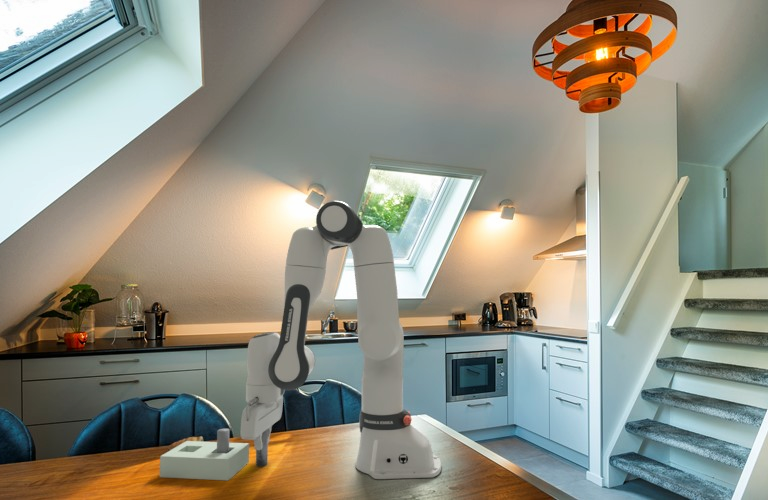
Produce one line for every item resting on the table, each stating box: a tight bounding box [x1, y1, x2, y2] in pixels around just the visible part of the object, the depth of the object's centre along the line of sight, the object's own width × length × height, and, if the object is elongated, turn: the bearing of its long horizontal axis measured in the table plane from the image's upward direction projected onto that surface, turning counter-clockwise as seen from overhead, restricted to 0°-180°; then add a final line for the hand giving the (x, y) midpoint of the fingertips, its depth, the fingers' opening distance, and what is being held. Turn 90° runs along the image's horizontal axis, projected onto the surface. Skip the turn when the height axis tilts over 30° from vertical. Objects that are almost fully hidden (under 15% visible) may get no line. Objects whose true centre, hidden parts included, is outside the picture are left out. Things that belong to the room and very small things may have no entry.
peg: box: [255, 429, 269, 468], centre depth 123 cm, size 3×3×10 cm
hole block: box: [159, 428, 250, 481], centre depth 120 cm, size 18×12×10 cm, turn 83°
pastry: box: [167, 436, 204, 451], centre depth 135 cm, size 9×7×4 cm
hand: (262, 446), depth 123 cm, fingers closed on peg, 3 cm apart
